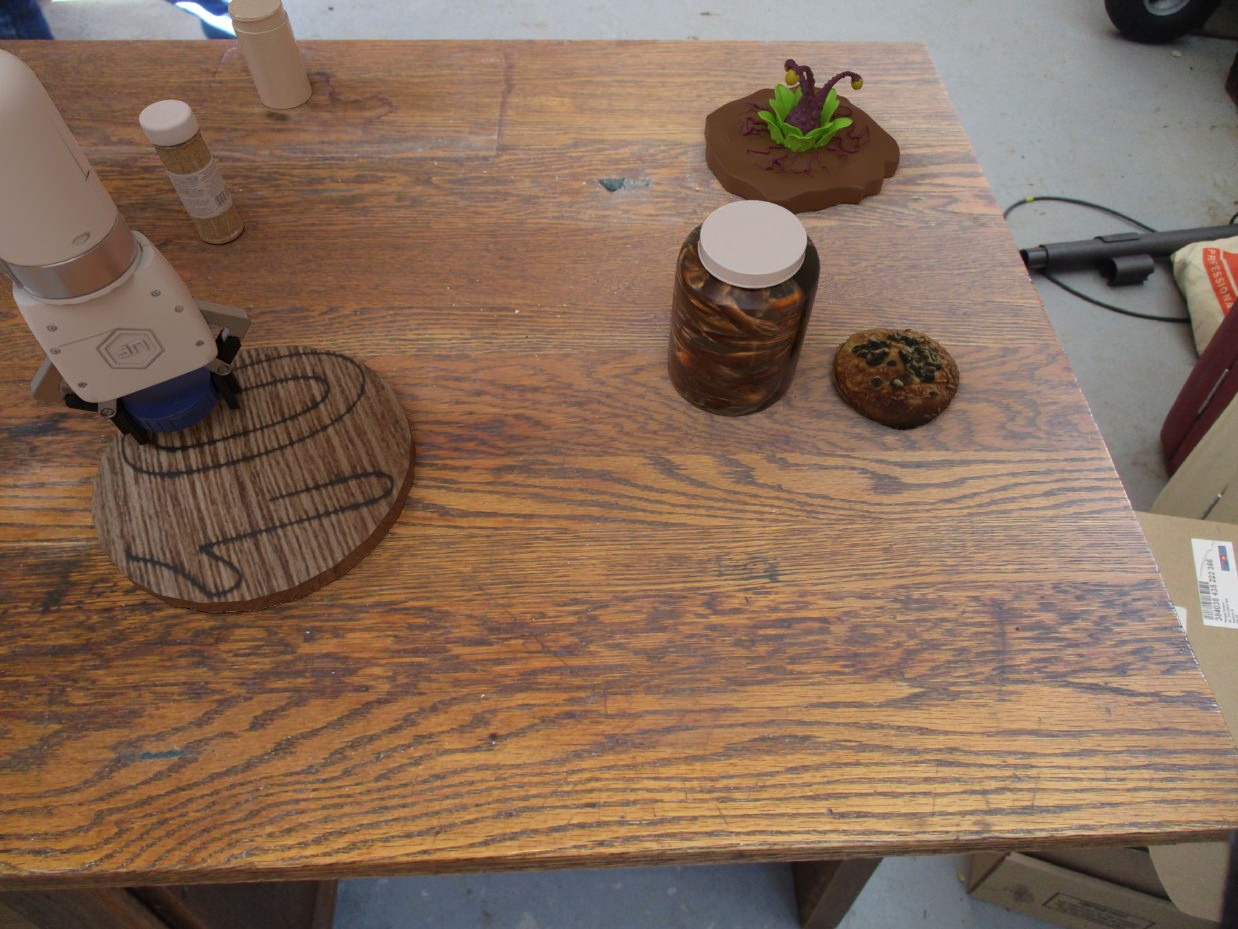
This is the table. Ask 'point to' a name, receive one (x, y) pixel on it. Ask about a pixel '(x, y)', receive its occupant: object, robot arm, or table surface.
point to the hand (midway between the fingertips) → (186, 413)
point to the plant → (799, 145)
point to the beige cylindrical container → (270, 52)
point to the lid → (173, 402)
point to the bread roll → (895, 376)
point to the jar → (741, 307)
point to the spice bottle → (192, 169)
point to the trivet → (260, 485)
